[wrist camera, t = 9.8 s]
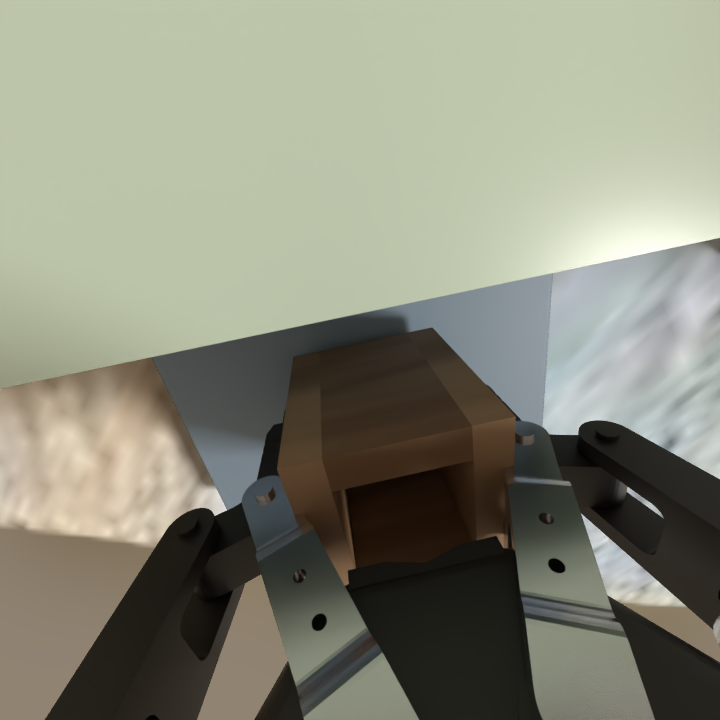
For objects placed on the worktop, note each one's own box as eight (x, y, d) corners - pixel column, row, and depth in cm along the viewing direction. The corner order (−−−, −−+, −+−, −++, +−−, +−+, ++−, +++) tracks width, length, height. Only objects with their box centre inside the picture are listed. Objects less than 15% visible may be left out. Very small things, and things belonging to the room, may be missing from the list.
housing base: (-7, -31, 9) (-366, -293, 4) (547, -126, 10) (780, -457, 5) (234, 489, 18) (204, 597, 13) (524, 424, 19) (601, 505, 14)
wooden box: (293, 357, 13) (276, 469, 7) (432, 327, 13) (515, 416, 8) (324, 464, 15) (329, 609, 10) (442, 438, 15) (511, 566, 10)
